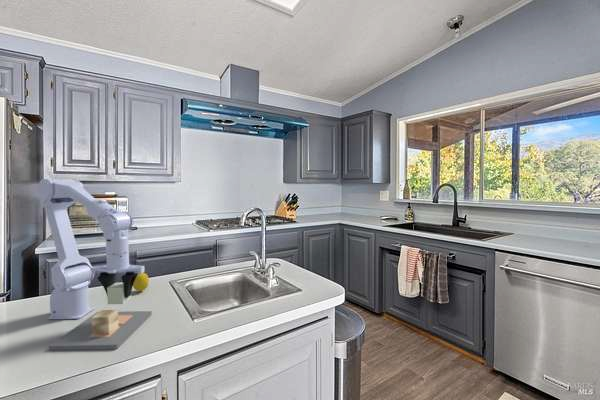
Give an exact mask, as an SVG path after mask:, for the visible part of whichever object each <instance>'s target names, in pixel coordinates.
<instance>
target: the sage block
mask: <svg viewBox="0 0 600 400" xmlns="http://www.w3.org/2000/svg"><path fill="white" fill-rule="evenodd" d="M107 296H108V297H107ZM106 297H107V305H124V304H125V303H127V302H128V301H130V299H131V298H132V294H131V295H130V296H129V297H128V298H125V296H124V285H123V281H121V282H114V284H113V285H111V286H109V287H108V288H107V294H106Z"/></svg>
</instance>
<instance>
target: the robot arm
mask: <svg viewBox="0 0 600 400" xmlns="http://www.w3.org/2000/svg"><path fill="white" fill-rule="evenodd" d="M36 192H37V193H36V194H37V197H38V200H39V203H40V207H41V208H44V211H45V213H46V217H47V221H48V224H49V228H50V233H51V236H52V239H53V243H54V247H55V250H56V255H57V258H58V261H57V262H56V263H55V264H54V265H53V266H52V267H51V268H50V273H51V284H52V286H53V288H54V289H53V290H52V292H51V293H50V296H49V307H50V308H49V310H50V311H49V312H50V316H49V317H48V320H76V319H77V320H79V319H81V318H82V317H84V316H86V315H87V314H88V313H90V312H91V311H93V310H94V309H96V306H95V305H93V306H91V305H90V303H89V302H90V301H89V299H90V297H89V285H90V284H91V281H93V279H94V277H95V275H96V274H99V276H98V277H97V280H98V281H99V282H100V284H101V285H102V287H103V289H104V291H105V293H106V294H105V295H106V297H107V298H108V296H107V288H108V287H109V286H111V285H113V284H114V283H115V278H116V274H123V275H122V276H121V277H120V279H121V282H123V285H124V296H125V298H128V297H129V296H130V295H131V296H132V290H133V288H134V287H133V284H134V281H135V279H136V277H137V275H138V274H142V273H145V265H136V264H130V252H129V251H130V248H129V243H130V242H129V230H131V228H132V226H133V217H132V215H131V214H130V213H129V212H128V211H122V210H117V208H115V207H114V206H112V205H111V204H109V203H108V202H107V200H106V199H105V198H104V199H103V198H102V199H100V198H99V199H98V198H97V199H96V198H95V197H94V196H92V194H90V193H89V192H88V191H87V190H86V189H85V188H84V184H83V183H82V182H81V181H80V180H79V179H76V178H72V179H50V178H49V179H48V178H43V179H41V180H40V181H39V183H38V185H37V187H36ZM75 202H76V203H78V204H79V205H81V206H82V207H84V208H85V212H86V214H87V215H89V216H90V217H91V218H93V219H94V220H95V221H96V222H98V223H99V226H100V229H101V231H102V233H103V236H102V237H103V238H104V240H105V248H106V249H105V251H106V252H105V255H106V264H105V265H95V266H92V264H91V262H90V261H89V258H87V257H86V256H82V255H81V254H80V252H79V250H78V245H77V242H76V238H75V235H74V231H73V229H72V224H71V220H70V217H69V214H68V208H69V207H71V206H74V205H73V204H74V203H75Z"/></svg>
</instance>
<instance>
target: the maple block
mask: <svg viewBox="0 0 600 400" xmlns="http://www.w3.org/2000/svg"><path fill="white" fill-rule="evenodd" d="M98 312H99V313H97V312H96V313H97V314H96V315H95V316H93V317H92V334H93V335H109V334H111V333H112V332H113V331H114V330H115V329H116V328H117V327H118V312H119V310H118V309H101V310H100V311H98Z"/></svg>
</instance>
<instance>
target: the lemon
mask: <svg viewBox="0 0 600 400" xmlns="http://www.w3.org/2000/svg"><path fill="white" fill-rule="evenodd" d="M149 279H150V278H149V276H148V274H147V273H145V272H144V273H142V274H138V275H137V277H136V279H135V281H134V284H133V287H132V288H133V289H134V290H135V291H138V292H140V293H142V292H143V291H145V290H147V288H148V286H149V281H150V280H149Z"/></svg>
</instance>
